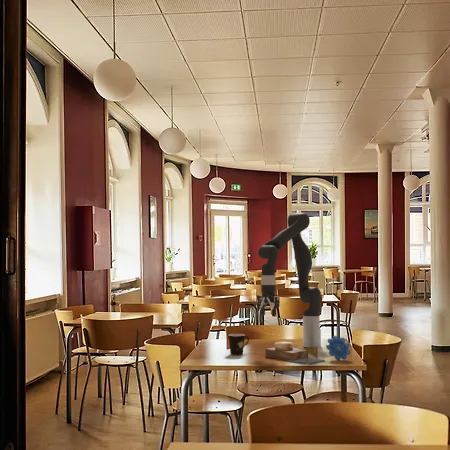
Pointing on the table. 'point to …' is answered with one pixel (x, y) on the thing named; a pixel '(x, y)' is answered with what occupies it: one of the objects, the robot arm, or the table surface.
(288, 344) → the tan domed disc
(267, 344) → the table surface
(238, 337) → the coffee mug
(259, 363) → the table surface
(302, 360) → the slate board
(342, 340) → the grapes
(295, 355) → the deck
